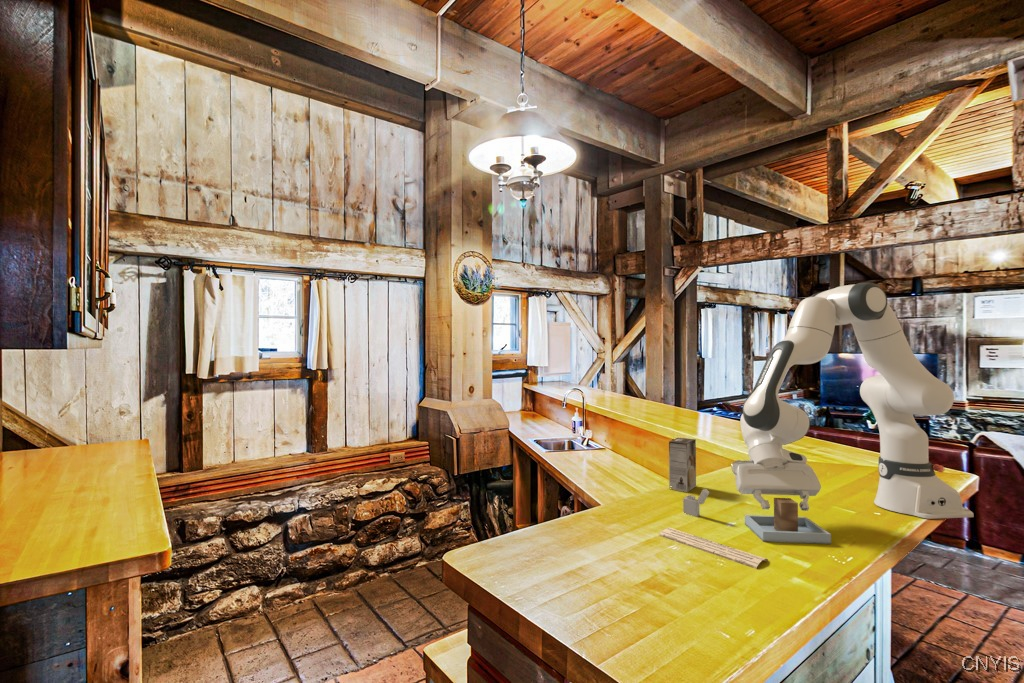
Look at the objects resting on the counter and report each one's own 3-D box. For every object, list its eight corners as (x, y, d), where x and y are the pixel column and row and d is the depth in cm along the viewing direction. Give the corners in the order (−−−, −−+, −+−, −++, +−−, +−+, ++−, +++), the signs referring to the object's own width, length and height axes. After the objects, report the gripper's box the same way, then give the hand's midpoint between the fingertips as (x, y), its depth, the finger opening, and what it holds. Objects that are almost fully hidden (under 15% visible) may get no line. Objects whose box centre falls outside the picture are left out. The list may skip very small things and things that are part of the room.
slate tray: (806, 526, 127) (806, 517, 127) (831, 544, 115) (830, 534, 115) (744, 523, 128) (744, 514, 128) (763, 541, 117) (763, 531, 117)
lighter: (682, 513, 137) (682, 485, 137) (686, 511, 138) (686, 483, 138) (706, 519, 131) (706, 490, 131) (709, 518, 132) (709, 489, 132)
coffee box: (677, 483, 167) (677, 436, 167) (696, 486, 163) (696, 439, 163) (668, 489, 159) (668, 441, 159) (688, 492, 155) (688, 443, 156)
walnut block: (790, 529, 123) (790, 498, 123) (797, 535, 119) (797, 503, 119) (774, 528, 124) (773, 497, 124) (781, 534, 120) (781, 502, 120)
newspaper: (659, 538, 120) (659, 531, 120) (674, 531, 125) (674, 524, 125) (756, 572, 102) (756, 564, 102) (770, 562, 107) (770, 554, 107)
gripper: (732, 454, 130) (746, 501, 120) (811, 455, 128) (832, 504, 118) (726, 466, 135) (740, 513, 125) (803, 468, 133) (823, 516, 123)
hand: (785, 509), depth 122 cm, fingers open, 8 cm apart
